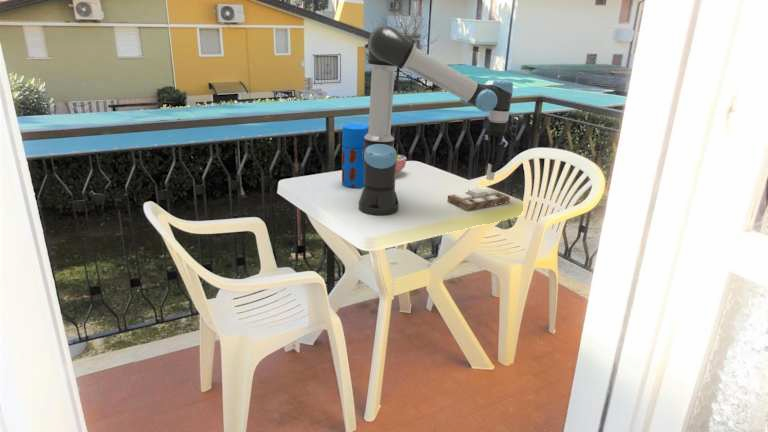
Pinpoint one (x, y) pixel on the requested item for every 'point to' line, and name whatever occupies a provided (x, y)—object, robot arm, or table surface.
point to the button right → (491, 192)
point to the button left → (462, 196)
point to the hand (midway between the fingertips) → (489, 179)
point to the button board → (478, 201)
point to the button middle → (476, 193)
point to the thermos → (353, 155)
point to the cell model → (400, 162)
